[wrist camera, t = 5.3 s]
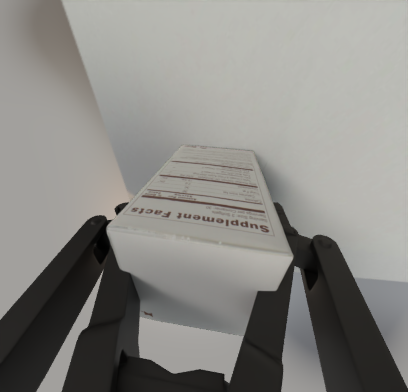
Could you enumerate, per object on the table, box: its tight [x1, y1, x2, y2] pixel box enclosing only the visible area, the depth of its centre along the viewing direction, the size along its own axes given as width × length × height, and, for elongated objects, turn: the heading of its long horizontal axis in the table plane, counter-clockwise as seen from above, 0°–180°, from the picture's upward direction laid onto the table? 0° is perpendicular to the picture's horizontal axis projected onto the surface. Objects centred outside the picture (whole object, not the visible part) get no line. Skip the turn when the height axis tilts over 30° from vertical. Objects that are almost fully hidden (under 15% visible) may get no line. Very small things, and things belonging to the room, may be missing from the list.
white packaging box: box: [107, 145, 293, 336], centre depth 13 cm, size 7×7×13 cm
